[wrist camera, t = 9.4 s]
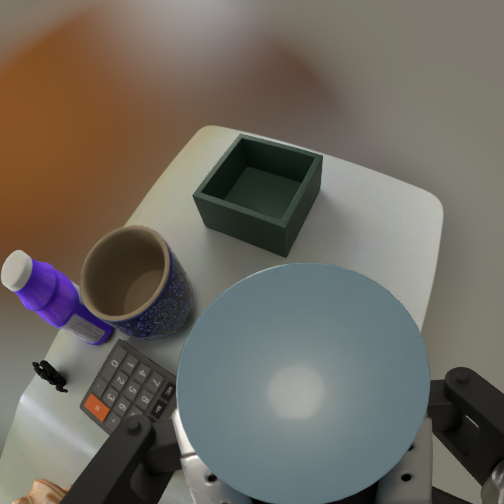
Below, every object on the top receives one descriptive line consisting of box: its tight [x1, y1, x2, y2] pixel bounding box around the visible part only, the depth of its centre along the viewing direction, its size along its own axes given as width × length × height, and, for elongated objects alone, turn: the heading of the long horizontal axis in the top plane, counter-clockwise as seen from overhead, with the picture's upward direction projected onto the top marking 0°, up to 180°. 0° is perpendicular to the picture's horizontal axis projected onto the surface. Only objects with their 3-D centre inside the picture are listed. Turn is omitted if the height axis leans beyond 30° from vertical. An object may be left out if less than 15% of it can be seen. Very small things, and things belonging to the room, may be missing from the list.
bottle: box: [1, 250, 114, 345], centre depth 31 cm, size 7×6×17 cm
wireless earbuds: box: [32, 360, 68, 393], centre depth 33 cm, size 7×2×5 cm, turn 65°
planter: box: [80, 225, 193, 341], centre depth 34 cm, size 11×11×11 cm
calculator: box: [80, 339, 178, 435], centre depth 32 cm, size 12×1×15 cm
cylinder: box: [176, 263, 430, 504], centre depth 12 cm, size 5×5×14 cm
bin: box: [192, 134, 323, 257], centre depth 42 cm, size 13×13×7 cm
